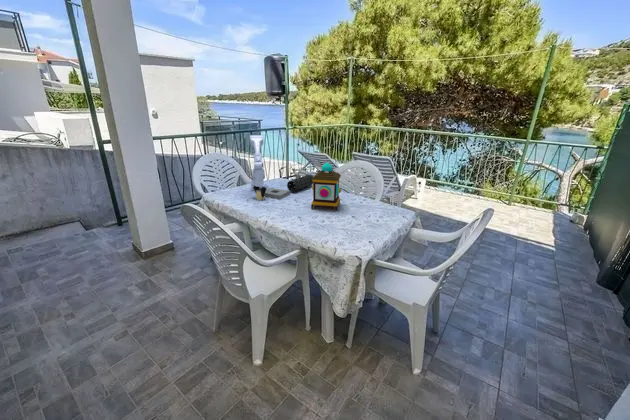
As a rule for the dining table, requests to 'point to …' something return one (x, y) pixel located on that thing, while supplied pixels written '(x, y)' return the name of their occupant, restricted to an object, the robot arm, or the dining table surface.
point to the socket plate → (276, 193)
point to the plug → (259, 194)
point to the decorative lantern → (326, 188)
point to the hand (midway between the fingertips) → (260, 196)
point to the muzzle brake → (300, 183)
